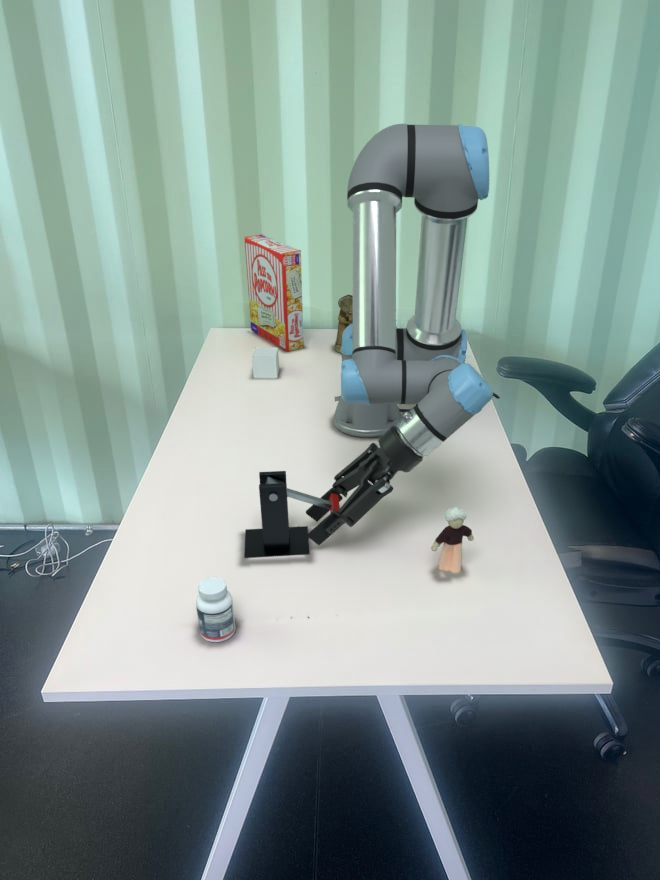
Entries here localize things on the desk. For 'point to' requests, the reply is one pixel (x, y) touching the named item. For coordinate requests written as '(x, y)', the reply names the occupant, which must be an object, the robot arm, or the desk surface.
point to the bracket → (275, 523)
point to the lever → (310, 497)
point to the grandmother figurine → (452, 540)
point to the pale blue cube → (265, 362)
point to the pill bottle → (215, 610)
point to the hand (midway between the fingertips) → (312, 527)
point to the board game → (275, 291)
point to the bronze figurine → (344, 318)
